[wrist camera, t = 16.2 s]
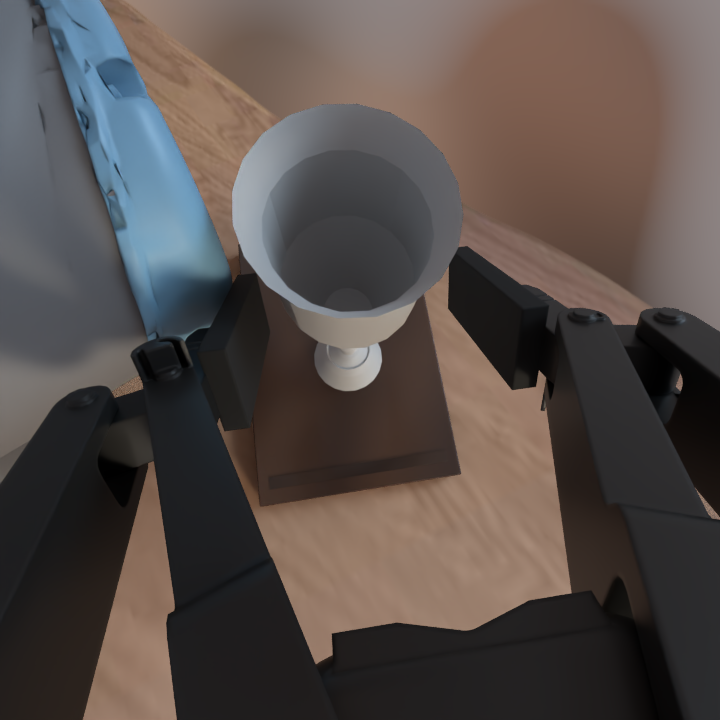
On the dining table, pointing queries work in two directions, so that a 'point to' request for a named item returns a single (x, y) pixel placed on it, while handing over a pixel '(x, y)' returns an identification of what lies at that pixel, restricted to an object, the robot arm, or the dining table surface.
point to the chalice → (347, 228)
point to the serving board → (348, 414)
